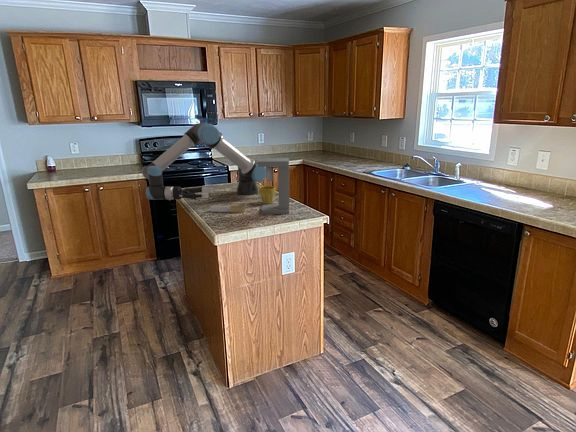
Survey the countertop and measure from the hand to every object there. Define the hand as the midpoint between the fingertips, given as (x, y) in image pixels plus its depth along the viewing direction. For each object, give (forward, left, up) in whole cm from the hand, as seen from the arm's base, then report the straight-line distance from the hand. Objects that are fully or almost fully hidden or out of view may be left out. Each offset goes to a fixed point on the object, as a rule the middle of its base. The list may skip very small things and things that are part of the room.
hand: (210, 192), depth 217 cm
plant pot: (-19, +32, -11) cm, 39 cm away
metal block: (0, +9, -11) cm, 15 cm away
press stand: (0, +37, -11) cm, 38 cm away
